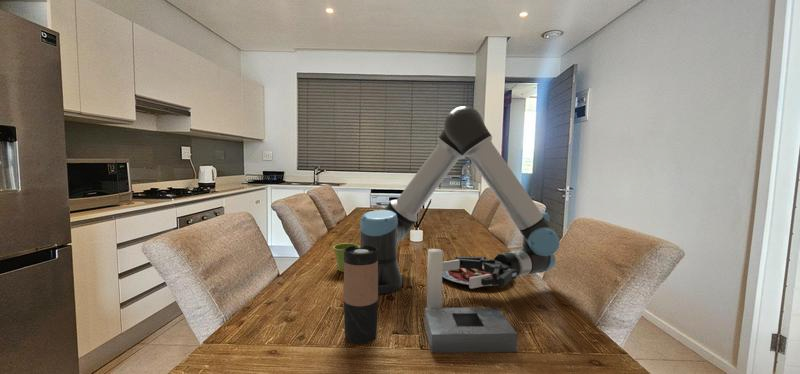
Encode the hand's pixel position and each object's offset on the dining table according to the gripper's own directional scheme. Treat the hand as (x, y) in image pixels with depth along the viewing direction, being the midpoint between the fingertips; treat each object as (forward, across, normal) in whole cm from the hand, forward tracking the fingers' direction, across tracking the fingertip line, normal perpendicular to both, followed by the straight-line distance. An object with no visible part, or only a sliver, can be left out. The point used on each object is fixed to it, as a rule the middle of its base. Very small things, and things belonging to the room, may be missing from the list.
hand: (454, 274), depth 87 cm
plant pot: (+19, +40, -9) cm, 45 cm away
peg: (+6, +1, -9) cm, 11 cm away
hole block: (+7, -14, -9) cm, 18 cm away
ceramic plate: (-20, +16, -9) cm, 27 cm away
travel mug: (+28, -4, -9) cm, 30 cm away
